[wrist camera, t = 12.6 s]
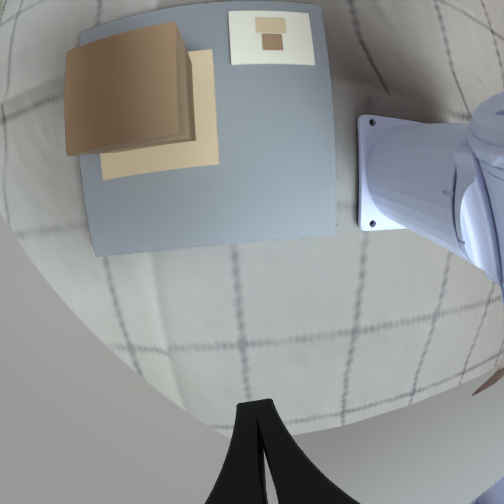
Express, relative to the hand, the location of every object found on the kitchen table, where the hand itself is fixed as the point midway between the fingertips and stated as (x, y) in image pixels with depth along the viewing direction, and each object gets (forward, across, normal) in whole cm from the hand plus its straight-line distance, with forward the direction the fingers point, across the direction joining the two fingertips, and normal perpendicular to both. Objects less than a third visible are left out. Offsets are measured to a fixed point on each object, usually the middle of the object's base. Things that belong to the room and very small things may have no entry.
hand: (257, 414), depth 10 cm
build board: (+10, +1, -12) cm, 16 cm away
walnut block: (+6, +3, -13) cm, 15 cm away
